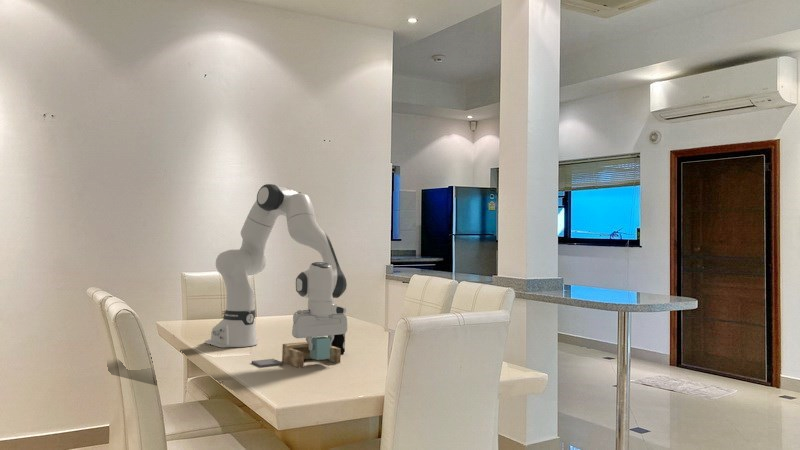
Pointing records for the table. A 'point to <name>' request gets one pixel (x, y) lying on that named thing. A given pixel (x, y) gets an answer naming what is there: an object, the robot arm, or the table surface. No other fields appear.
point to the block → (320, 348)
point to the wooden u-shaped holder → (304, 353)
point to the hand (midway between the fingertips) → (320, 349)
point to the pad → (267, 362)
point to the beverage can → (339, 342)
